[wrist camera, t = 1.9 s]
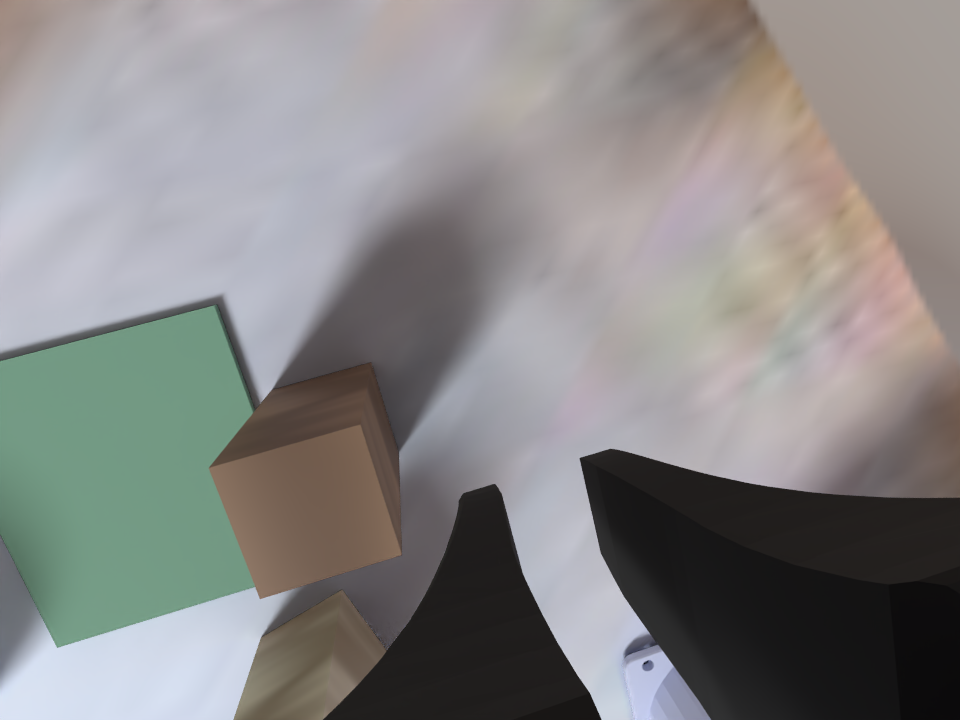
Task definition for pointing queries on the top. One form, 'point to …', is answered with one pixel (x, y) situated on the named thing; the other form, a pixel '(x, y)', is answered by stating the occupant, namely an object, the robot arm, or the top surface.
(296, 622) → the maple block
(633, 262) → the top surface
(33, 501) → the mat
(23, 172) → the top surface
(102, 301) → the top surface
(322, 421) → the walnut block
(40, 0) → the top surface
